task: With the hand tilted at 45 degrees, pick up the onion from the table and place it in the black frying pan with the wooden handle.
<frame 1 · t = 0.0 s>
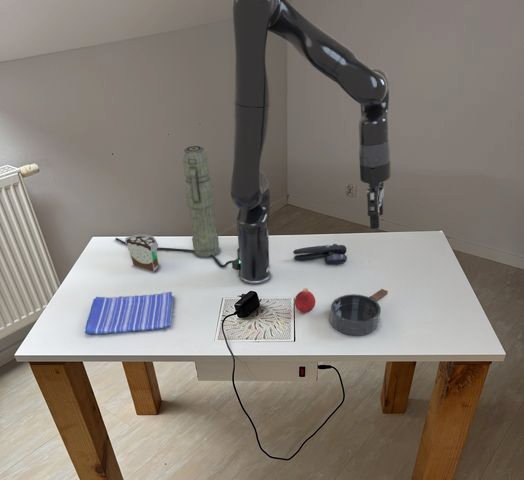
hand: (376, 221, 129), 22 cm above the table, tool pointing down, fingers open, 8 cm apart
cake slice: (150, 266, 161), on the table
can opener: (319, 260, 159), on the table
pan: (354, 322, 132), on the table
thermos: (207, 252, 167), on the table
pan handle: (377, 296, 135), point 3 cm above the table
dish towel: (131, 316, 139), on the table
onion: (304, 313, 136), on the table
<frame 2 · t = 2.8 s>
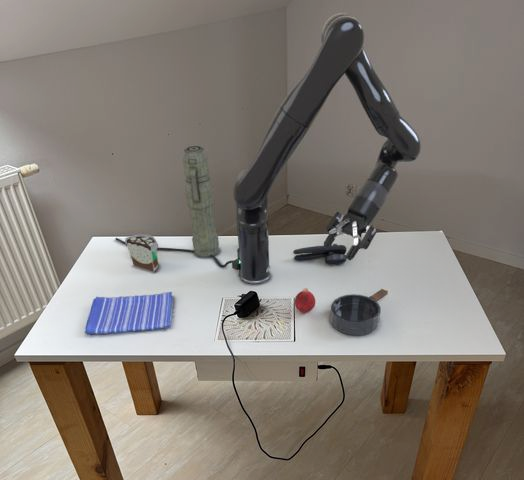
hand: (336, 253, 132), 15 cm above the table, tool tilted 45°, fingers open, 8 cm apart
nothing on the table moved.
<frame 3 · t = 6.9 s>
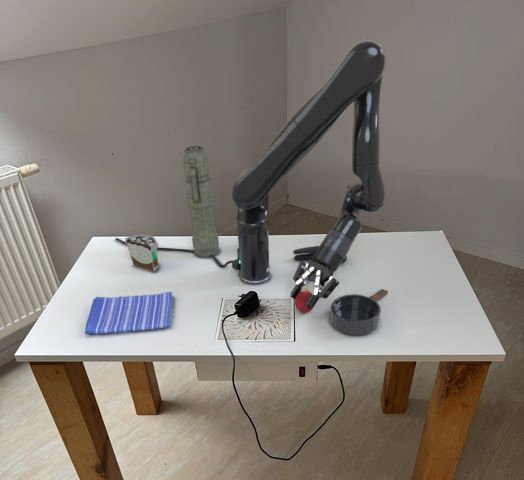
hand: (300, 302, 133), 4 cm above the table, tool tilted 45°, fingers closed on onion, 5 cm apart
onion: (304, 313, 136), on the table, touching gripper
everything else where it was.
when the fingers open (5 cm above the table, at t = 15.8 s): onion stays where it is, resting on pan.
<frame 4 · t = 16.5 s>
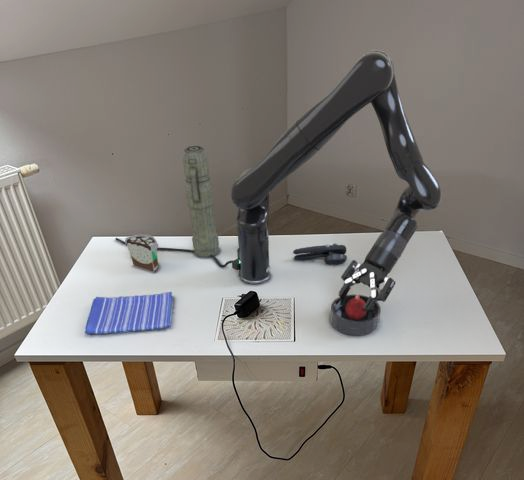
hand: (352, 304, 127), 7 cm above the table, tool tilted 45°, fingers open, 8 cm apart
onion: (354, 321, 132), resting on pan
everything else where it was.
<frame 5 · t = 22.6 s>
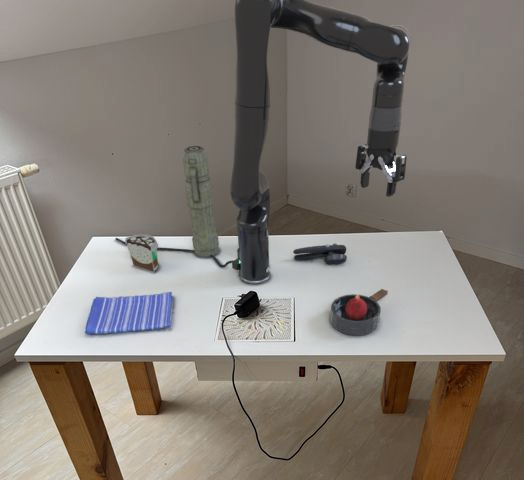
hand: (377, 191, 126), 30 cm above the table, tool pointing down, fingers open, 8 cm apart
nothing on the table moved.
at the end: onion inside the target area in the pan (0.2 cm from its centre), point 0.3 cm above the pan's base; the gripper is holding nothing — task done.
